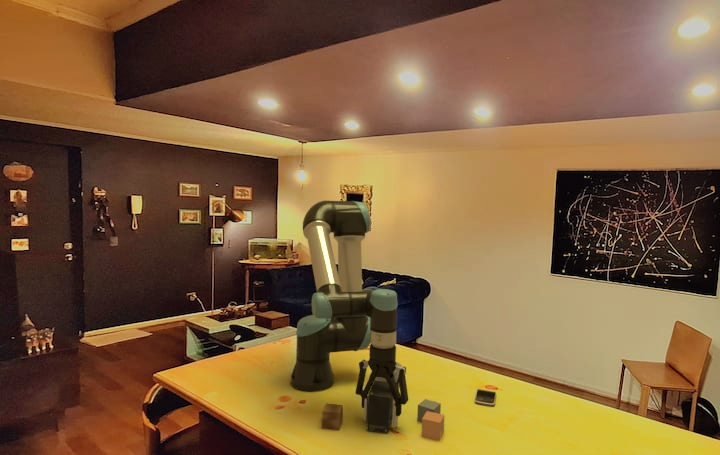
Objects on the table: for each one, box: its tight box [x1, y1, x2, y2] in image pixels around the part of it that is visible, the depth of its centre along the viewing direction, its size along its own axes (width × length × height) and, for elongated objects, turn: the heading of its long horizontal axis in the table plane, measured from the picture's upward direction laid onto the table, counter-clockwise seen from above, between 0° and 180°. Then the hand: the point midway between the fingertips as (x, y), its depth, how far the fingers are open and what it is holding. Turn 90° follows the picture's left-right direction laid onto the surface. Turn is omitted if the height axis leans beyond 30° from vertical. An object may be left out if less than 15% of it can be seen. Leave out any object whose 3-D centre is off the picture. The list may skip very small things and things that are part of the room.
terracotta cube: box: [421, 411, 445, 442], centre depth 118 cm, size 5×5×5 cm
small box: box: [366, 380, 395, 434], centre depth 123 cm, size 11×6×10 cm, turn 168°
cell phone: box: [474, 388, 497, 408], centre depth 141 cm, size 6×11×1 cm, turn 159°
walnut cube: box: [321, 402, 344, 431], centre depth 121 cm, size 5×5×5 cm
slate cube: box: [416, 398, 442, 424], centre depth 125 cm, size 5×5×5 cm
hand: (380, 422), depth 123 cm, fingers open, 8 cm apart
